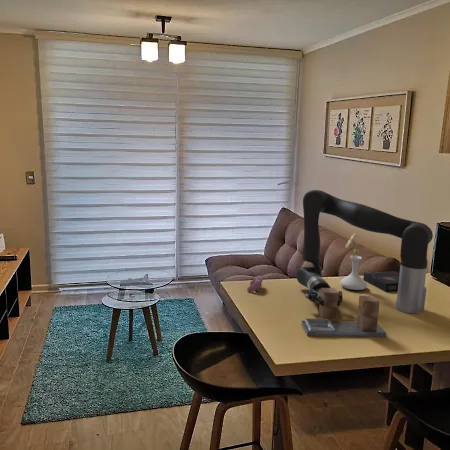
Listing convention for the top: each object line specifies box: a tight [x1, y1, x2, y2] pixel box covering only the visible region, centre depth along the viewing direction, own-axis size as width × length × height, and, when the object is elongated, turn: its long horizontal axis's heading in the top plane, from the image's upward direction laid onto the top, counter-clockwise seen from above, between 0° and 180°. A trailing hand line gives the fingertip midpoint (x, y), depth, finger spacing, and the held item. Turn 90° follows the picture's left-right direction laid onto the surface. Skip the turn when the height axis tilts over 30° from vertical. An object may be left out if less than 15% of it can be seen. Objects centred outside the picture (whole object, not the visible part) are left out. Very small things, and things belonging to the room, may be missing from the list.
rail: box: [301, 317, 387, 338], centre depth 156 cm, size 26×9×2 cm, turn 93°
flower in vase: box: [339, 232, 368, 291], centre depth 199 cm, size 13×11×25 cm
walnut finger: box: [318, 287, 339, 321], centre depth 167 cm, size 5×5×10 cm
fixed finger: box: [356, 295, 381, 330], centre depth 155 cm, size 5×5×10 cm
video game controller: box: [246, 275, 264, 293], centre depth 194 cm, size 10×5×7 cm, turn 169°
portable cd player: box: [362, 270, 400, 293], centre depth 208 cm, size 16×17×4 cm
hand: (330, 303), depth 164 cm, fingers closed on walnut finger, 5 cm apart
